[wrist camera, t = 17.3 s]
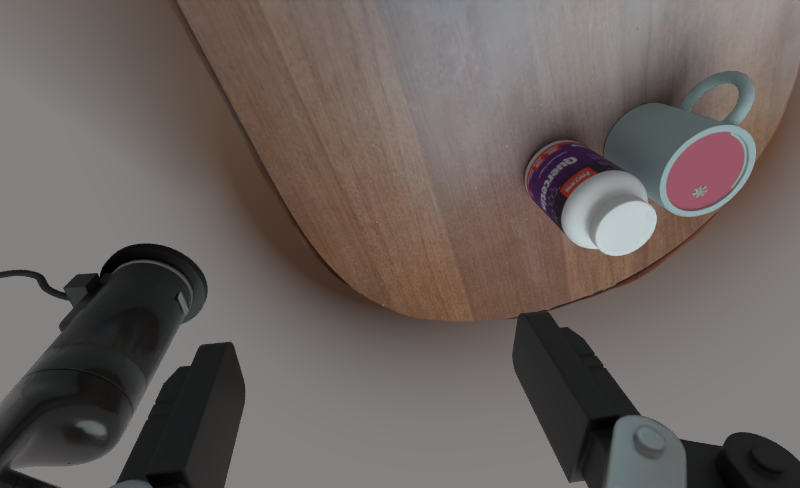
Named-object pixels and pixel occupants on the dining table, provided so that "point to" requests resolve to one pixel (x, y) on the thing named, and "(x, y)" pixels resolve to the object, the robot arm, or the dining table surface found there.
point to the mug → (687, 149)
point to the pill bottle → (590, 198)
